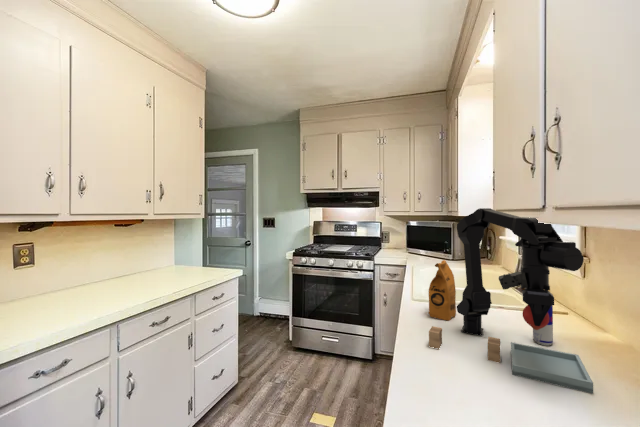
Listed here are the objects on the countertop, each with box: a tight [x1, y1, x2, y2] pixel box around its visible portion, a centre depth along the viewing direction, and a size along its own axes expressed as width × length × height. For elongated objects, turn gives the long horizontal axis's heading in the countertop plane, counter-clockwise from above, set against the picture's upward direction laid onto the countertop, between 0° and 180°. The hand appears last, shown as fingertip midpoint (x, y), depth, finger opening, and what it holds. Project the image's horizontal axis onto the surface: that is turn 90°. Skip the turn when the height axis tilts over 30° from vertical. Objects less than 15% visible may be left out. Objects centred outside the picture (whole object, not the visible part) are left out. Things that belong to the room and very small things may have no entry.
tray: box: [510, 341, 594, 394], centre depth 78 cm, size 16×16×2 cm
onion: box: [522, 304, 550, 330], centre depth 79 cm, size 6×6×8 cm
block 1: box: [428, 325, 443, 350], centre depth 93 cm, size 5×3×5 cm, turn 148°
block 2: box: [487, 336, 501, 364], centre depth 84 cm, size 5×3×5 cm, turn 148°
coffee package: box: [428, 259, 457, 322], centre depth 120 cm, size 10×12×22 cm
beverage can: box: [532, 305, 554, 347], centre depth 94 cm, size 5×5×15 cm
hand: (536, 322), depth 79 cm, fingers closed on onion, 6 cm apart
